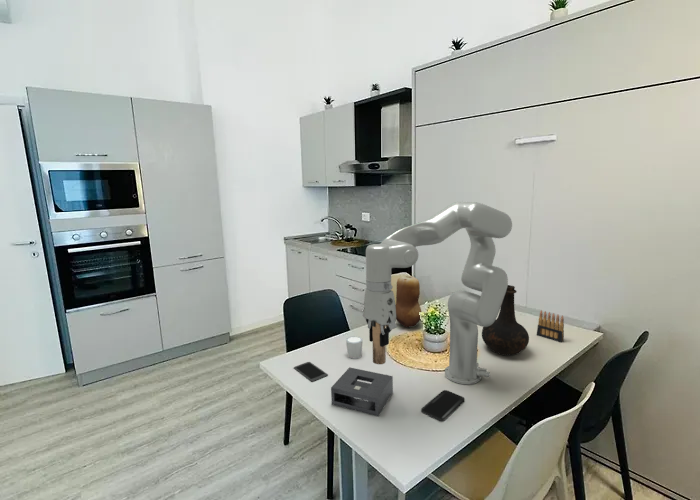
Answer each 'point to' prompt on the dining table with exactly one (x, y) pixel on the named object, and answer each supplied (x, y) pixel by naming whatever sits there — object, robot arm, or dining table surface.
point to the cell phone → (310, 371)
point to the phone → (443, 405)
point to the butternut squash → (407, 301)
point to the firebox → (362, 391)
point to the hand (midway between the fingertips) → (379, 342)
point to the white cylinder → (354, 347)
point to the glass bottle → (506, 329)
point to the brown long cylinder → (378, 345)
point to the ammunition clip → (551, 327)
